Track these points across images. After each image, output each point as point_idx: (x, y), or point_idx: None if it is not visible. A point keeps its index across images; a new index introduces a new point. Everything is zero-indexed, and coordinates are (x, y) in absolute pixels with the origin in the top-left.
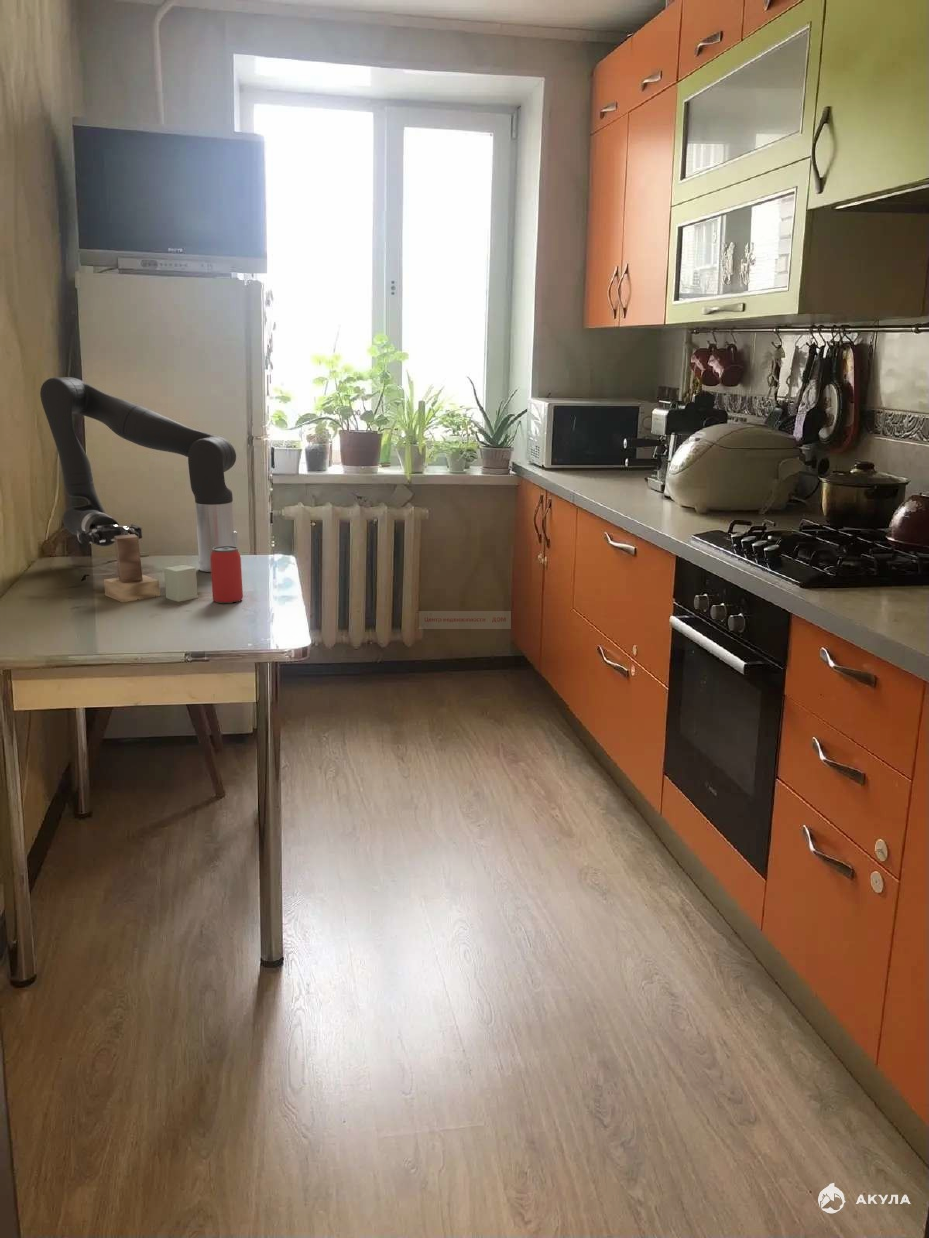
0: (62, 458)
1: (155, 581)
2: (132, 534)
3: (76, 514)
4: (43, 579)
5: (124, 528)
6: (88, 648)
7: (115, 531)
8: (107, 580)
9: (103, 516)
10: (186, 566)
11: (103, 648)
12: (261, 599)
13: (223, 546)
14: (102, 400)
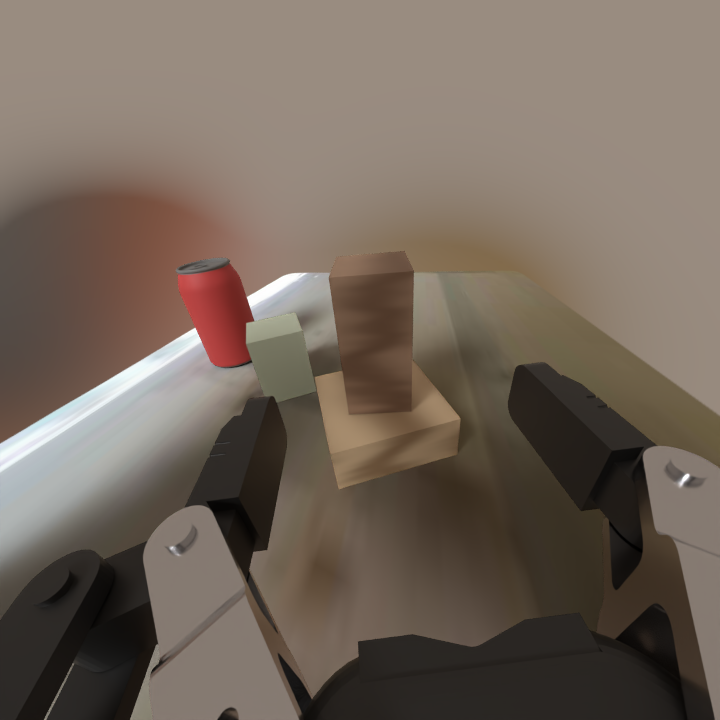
0: None
1: (323, 375)
2: (338, 275)
3: None
4: None
5: (241, 593)
6: (447, 278)
7: (383, 643)
8: (447, 407)
9: None
10: (253, 331)
11: (433, 277)
12: (196, 352)
13: (189, 270)
14: None
